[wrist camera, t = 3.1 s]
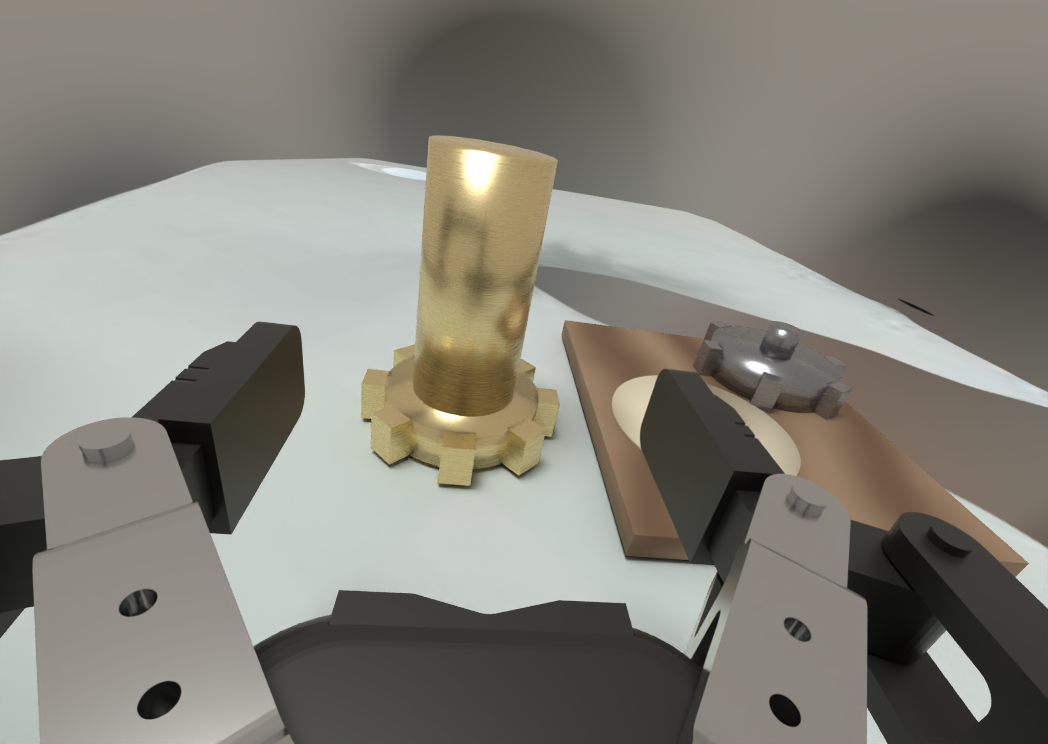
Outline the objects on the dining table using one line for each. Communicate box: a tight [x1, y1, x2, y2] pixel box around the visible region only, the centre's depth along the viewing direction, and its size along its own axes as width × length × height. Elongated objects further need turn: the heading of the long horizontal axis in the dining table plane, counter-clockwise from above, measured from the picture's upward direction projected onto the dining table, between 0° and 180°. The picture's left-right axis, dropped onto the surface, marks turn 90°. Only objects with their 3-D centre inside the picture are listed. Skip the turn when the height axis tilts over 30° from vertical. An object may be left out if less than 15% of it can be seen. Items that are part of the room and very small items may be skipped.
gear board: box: [562, 320, 1029, 577], centre depth 29 cm, size 18×20×1 cm
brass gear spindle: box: [361, 136, 559, 486], centre depth 22 cm, size 10×10×13 cm
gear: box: [693, 321, 852, 420], centre depth 32 cm, size 10×9×4 cm
